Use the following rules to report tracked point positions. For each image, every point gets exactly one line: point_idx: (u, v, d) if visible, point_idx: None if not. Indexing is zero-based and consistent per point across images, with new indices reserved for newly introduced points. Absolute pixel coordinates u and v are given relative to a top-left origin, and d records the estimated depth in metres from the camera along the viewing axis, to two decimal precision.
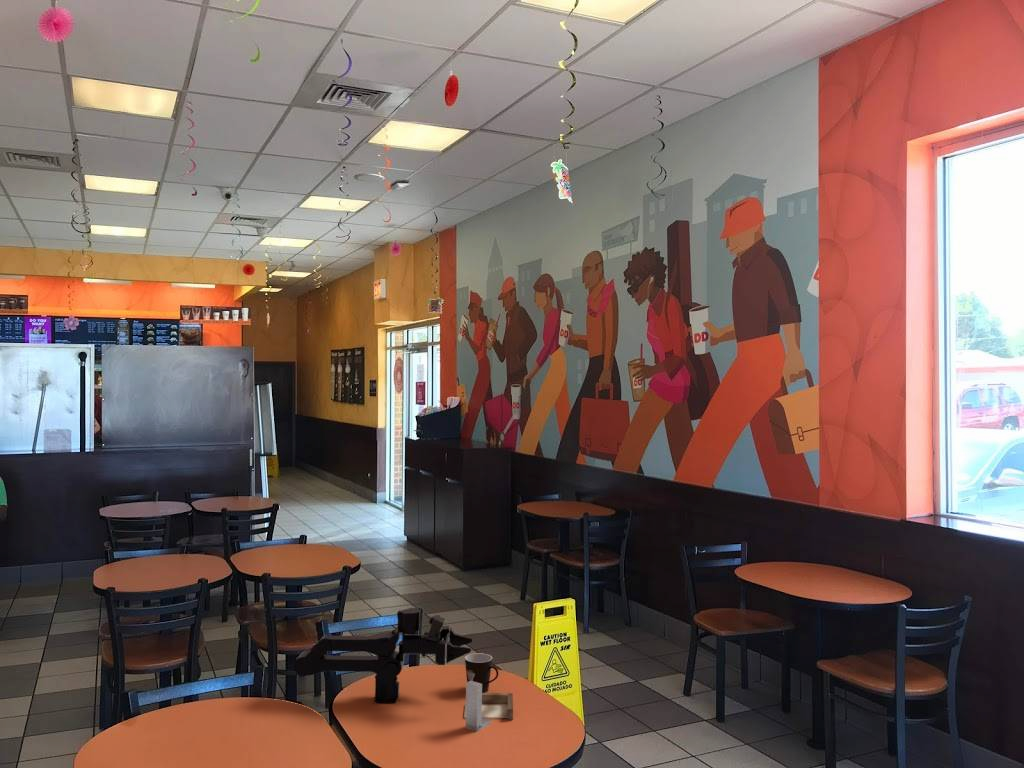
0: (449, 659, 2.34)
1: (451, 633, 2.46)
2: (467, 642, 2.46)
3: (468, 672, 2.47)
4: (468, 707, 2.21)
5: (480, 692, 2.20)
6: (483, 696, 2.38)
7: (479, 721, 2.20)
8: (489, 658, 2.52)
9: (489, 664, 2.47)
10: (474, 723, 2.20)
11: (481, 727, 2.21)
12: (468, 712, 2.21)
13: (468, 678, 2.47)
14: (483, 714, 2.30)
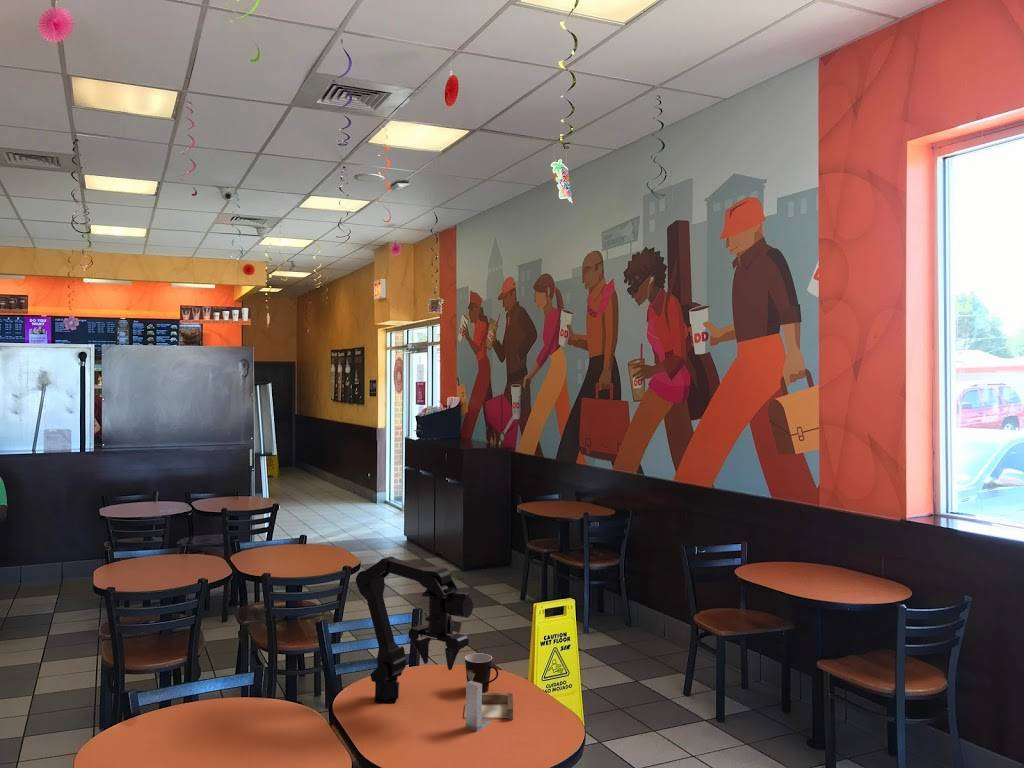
0: (451, 651, 2.27)
1: (429, 639, 2.37)
2: (425, 659, 2.34)
3: (468, 672, 2.47)
4: (468, 707, 2.21)
5: (480, 692, 2.20)
6: (483, 696, 2.38)
7: (479, 721, 2.20)
8: (489, 658, 2.52)
9: (489, 664, 2.47)
10: (474, 723, 2.20)
11: (481, 727, 2.21)
12: (468, 712, 2.21)
13: (468, 678, 2.47)
14: (483, 714, 2.30)
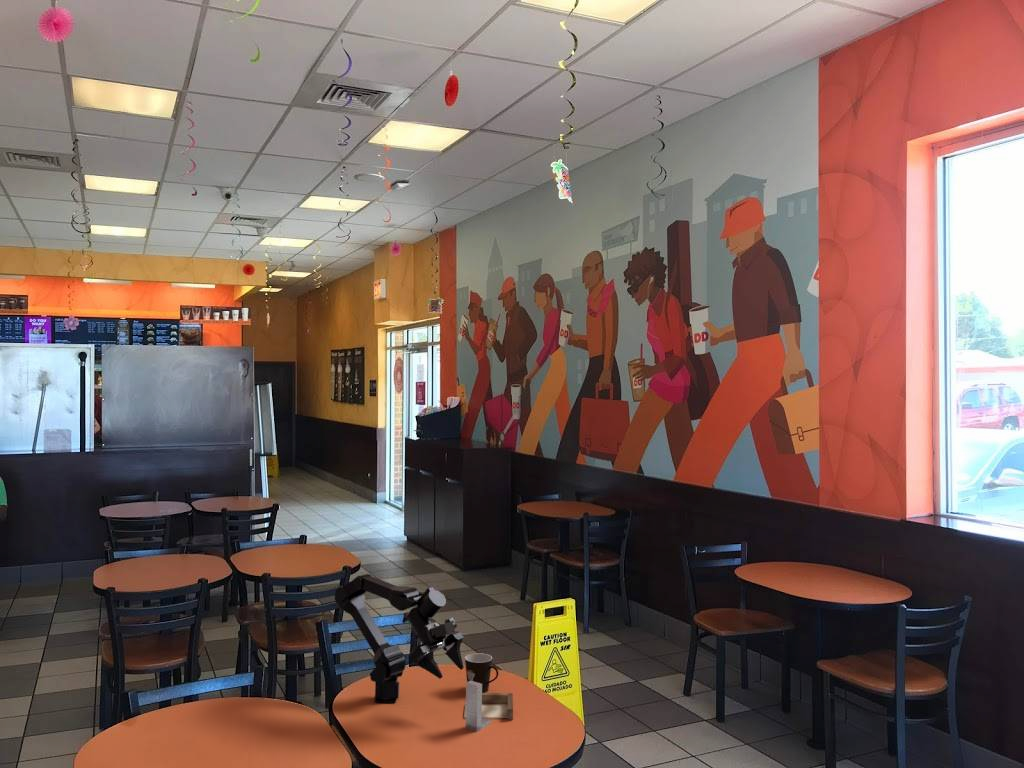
0: (420, 664, 2.24)
1: (455, 645, 2.32)
2: (458, 665, 2.30)
3: (468, 672, 2.47)
4: (468, 707, 2.21)
5: (480, 692, 2.20)
6: (483, 696, 2.38)
7: (479, 721, 2.20)
8: (489, 658, 2.52)
9: (489, 664, 2.47)
10: (474, 723, 2.20)
11: (481, 727, 2.21)
12: (468, 712, 2.21)
13: (468, 678, 2.47)
14: (483, 714, 2.30)
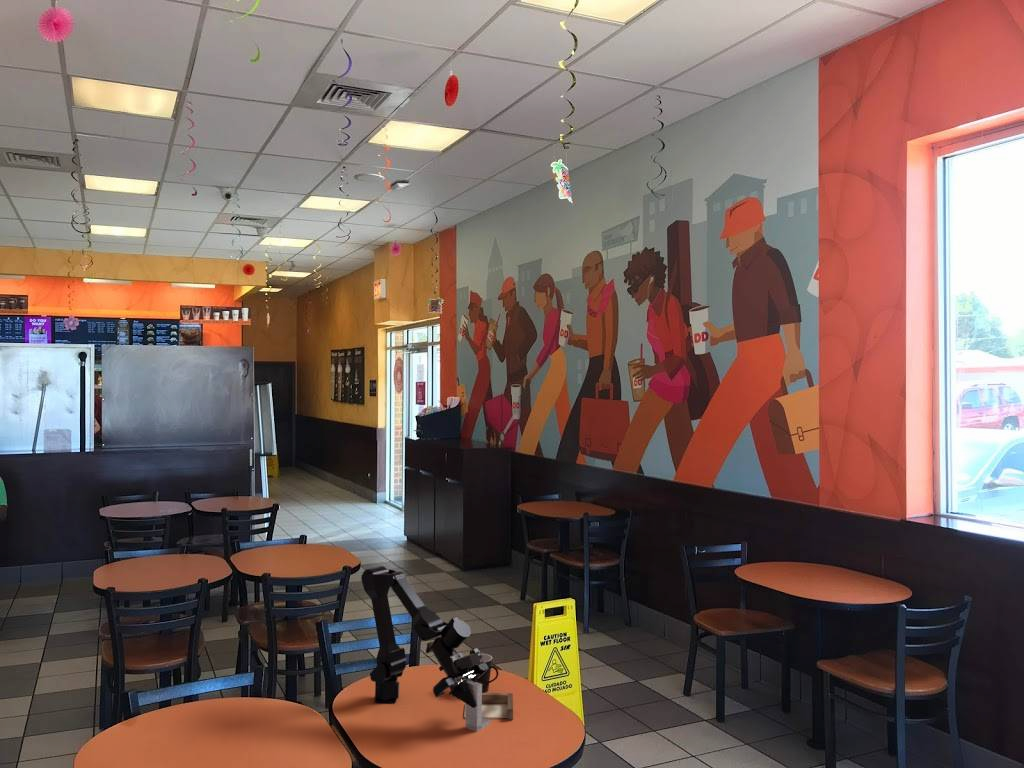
0: (454, 694, 2.21)
1: (472, 680, 2.24)
2: None
3: None
4: (468, 707, 2.21)
5: (480, 692, 2.20)
6: (483, 696, 2.38)
7: (479, 721, 2.20)
8: (489, 658, 2.52)
9: (489, 664, 2.47)
10: (474, 723, 2.20)
11: (481, 727, 2.21)
12: (468, 712, 2.21)
13: None
14: (483, 714, 2.30)
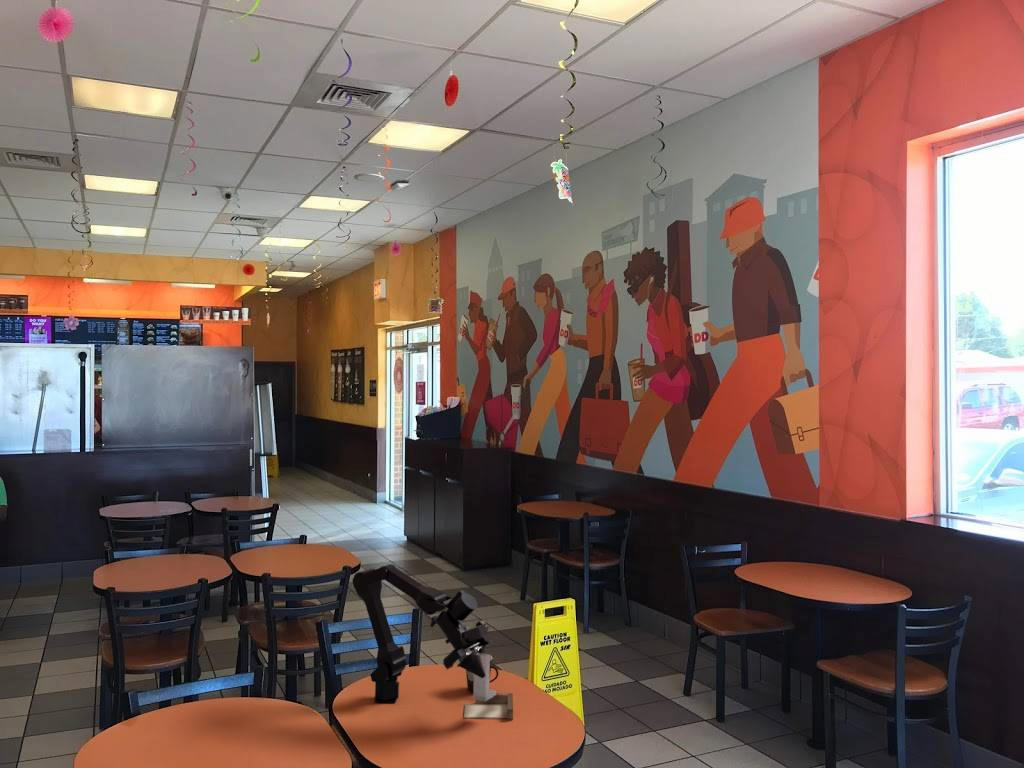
0: (462, 665, 2.24)
1: (479, 651, 2.28)
2: None
3: (468, 672, 2.47)
4: (476, 678, 2.25)
5: (488, 663, 2.25)
6: None
7: (487, 691, 2.24)
8: None
9: None
10: (483, 693, 2.24)
11: (489, 697, 2.25)
12: (476, 683, 2.25)
13: (468, 678, 2.47)
14: (483, 714, 2.30)
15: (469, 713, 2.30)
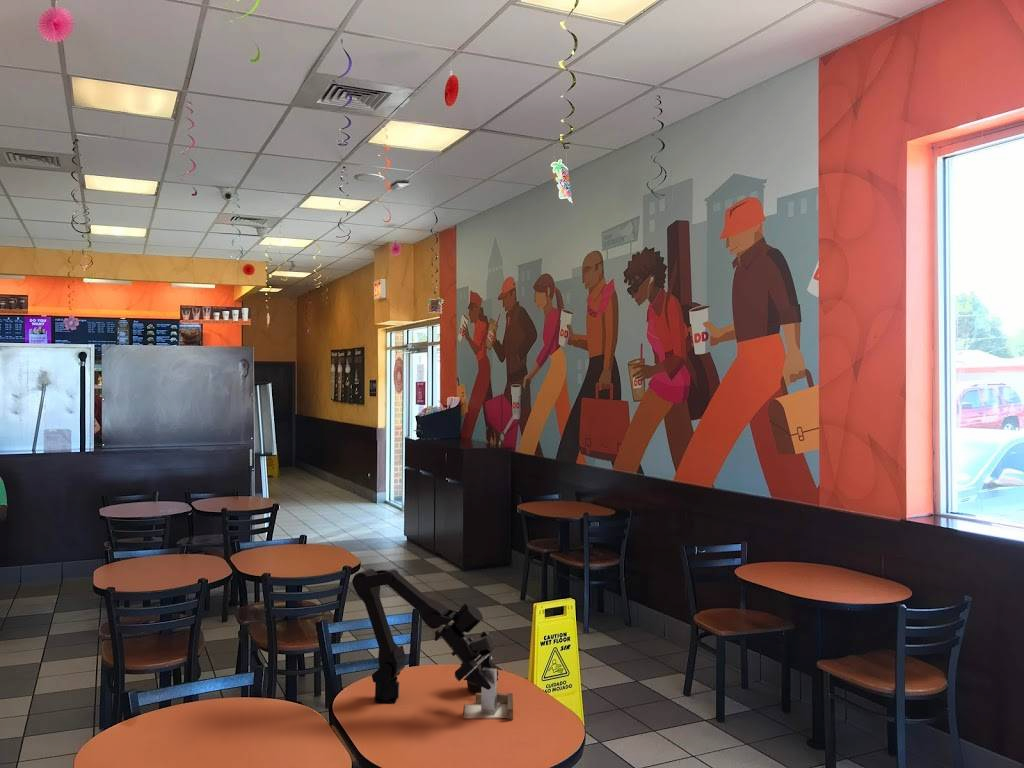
0: (468, 678, 2.27)
1: (487, 659, 2.35)
2: None
3: None
4: (484, 693, 2.31)
5: (496, 677, 2.31)
6: None
7: (495, 704, 2.31)
8: None
9: None
10: (491, 707, 2.30)
11: (496, 710, 2.32)
12: (484, 697, 2.30)
13: None
14: (483, 714, 2.30)
15: (469, 713, 2.30)
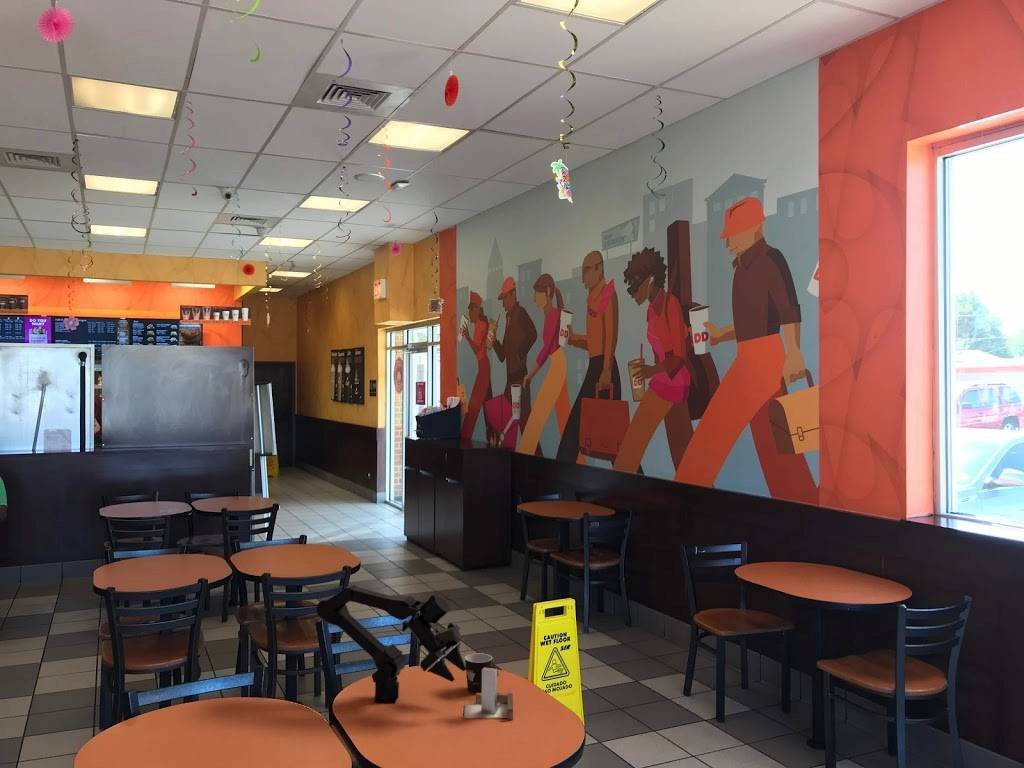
0: (432, 670, 2.30)
1: (456, 648, 2.40)
2: (460, 667, 2.39)
3: (468, 672, 2.47)
4: (484, 693, 2.31)
5: (496, 677, 2.31)
6: None
7: (495, 705, 2.31)
8: (489, 658, 2.52)
9: (489, 664, 2.47)
10: (491, 707, 2.30)
11: (496, 710, 2.32)
12: (485, 697, 2.30)
13: (468, 678, 2.47)
14: (483, 714, 2.30)
15: (469, 713, 2.30)
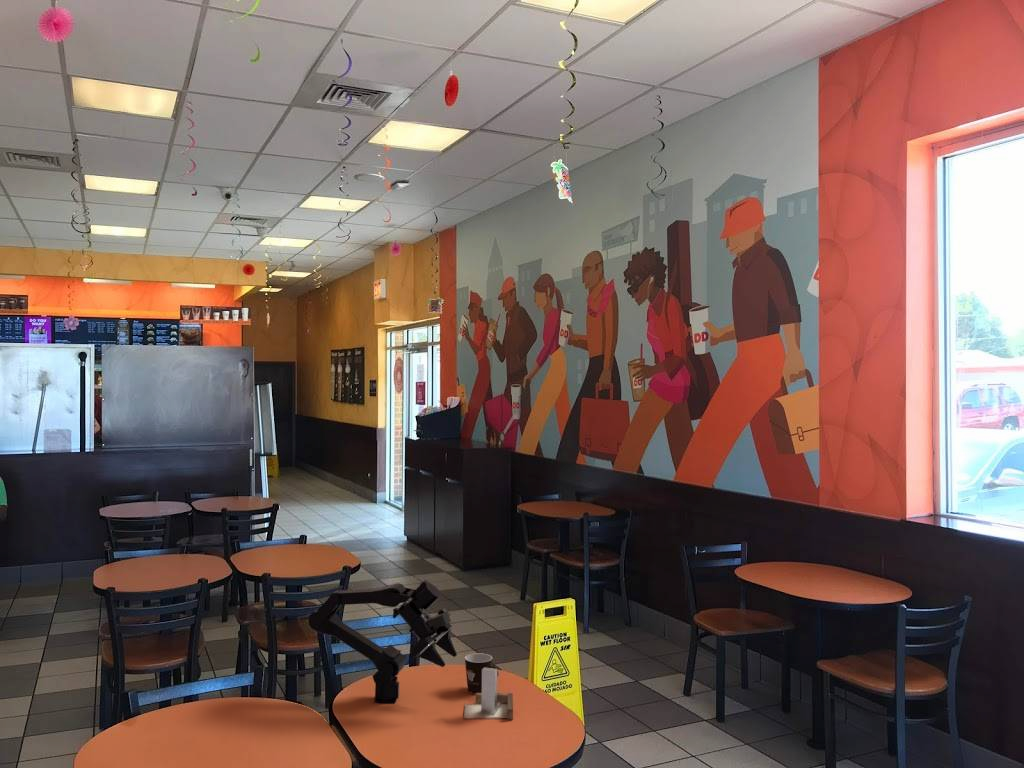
0: (422, 656, 2.31)
1: (446, 634, 2.42)
2: (451, 653, 2.40)
3: (468, 672, 2.47)
4: (484, 693, 2.31)
5: (496, 677, 2.31)
6: None
7: (495, 705, 2.31)
8: (489, 658, 2.52)
9: (489, 664, 2.47)
10: (491, 707, 2.30)
11: (496, 710, 2.32)
12: (485, 697, 2.30)
13: (468, 678, 2.47)
14: (483, 714, 2.30)
15: (469, 713, 2.30)
